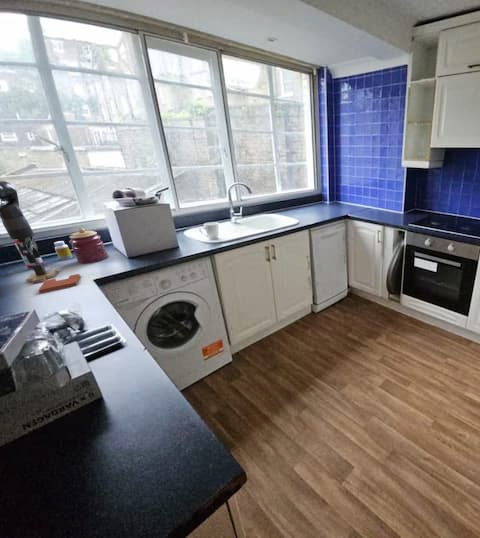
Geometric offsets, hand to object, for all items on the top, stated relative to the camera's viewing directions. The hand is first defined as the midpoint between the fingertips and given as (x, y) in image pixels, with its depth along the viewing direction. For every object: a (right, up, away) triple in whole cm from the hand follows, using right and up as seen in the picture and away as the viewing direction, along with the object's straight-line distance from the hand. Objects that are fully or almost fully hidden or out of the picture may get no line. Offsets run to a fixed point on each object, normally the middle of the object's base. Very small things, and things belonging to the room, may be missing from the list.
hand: (35, 260), depth 139 cm
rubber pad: (+18, -11, -6) cm, 22 cm away
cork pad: (+1, -9, +2) cm, 9 cm away
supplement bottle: (-12, +2, +27) cm, 29 cm away
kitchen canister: (+6, +1, +24) cm, 25 cm away
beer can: (-17, -3, +16) cm, 23 cm away
